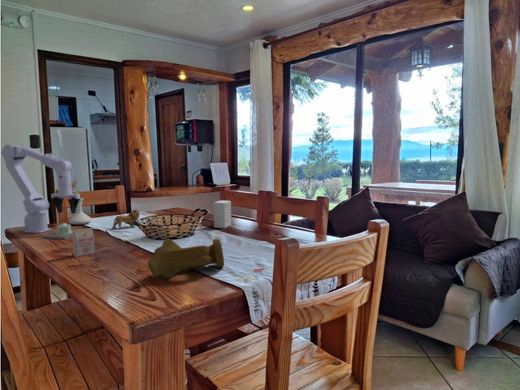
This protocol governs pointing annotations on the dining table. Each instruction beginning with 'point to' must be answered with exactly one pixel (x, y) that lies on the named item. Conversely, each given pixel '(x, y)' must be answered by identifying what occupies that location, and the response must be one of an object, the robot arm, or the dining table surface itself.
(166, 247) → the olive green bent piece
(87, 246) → the grey printed carton
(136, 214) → the lion figurine
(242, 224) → the dining table surface
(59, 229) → the ring
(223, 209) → the small box
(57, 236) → the post stand
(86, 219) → the flower in vase
